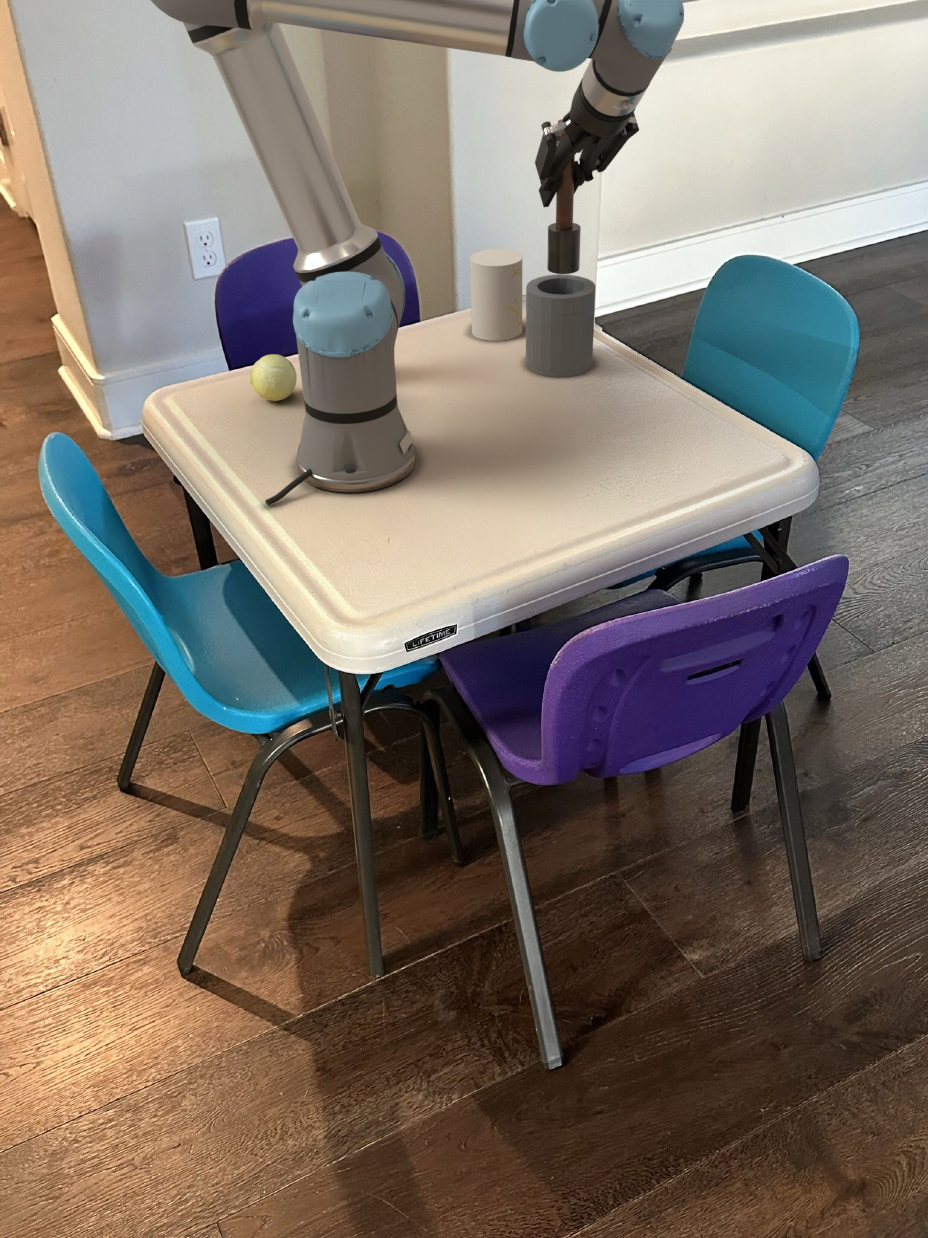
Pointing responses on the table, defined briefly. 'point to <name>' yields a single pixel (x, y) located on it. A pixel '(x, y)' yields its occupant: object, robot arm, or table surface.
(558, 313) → the grey thick-walled tube
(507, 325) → the cream marbled cylinder
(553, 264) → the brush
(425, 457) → the table surface
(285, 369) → the tennis ball
